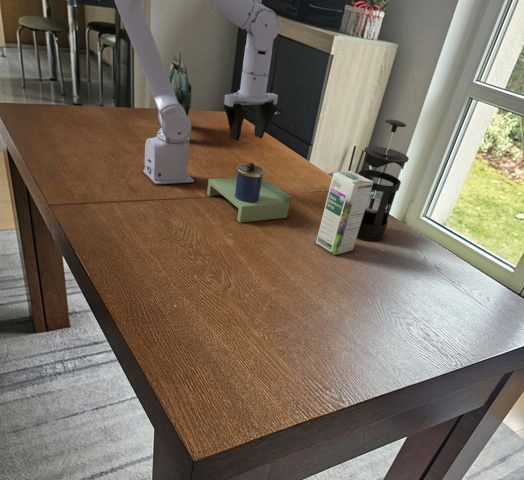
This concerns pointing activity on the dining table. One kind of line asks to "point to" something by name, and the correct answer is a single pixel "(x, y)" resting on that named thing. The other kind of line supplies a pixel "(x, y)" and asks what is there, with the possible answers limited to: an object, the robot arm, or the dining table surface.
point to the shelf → (267, 207)
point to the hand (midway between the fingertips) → (246, 138)
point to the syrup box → (343, 211)
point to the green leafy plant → (180, 83)
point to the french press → (380, 187)
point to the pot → (248, 182)
